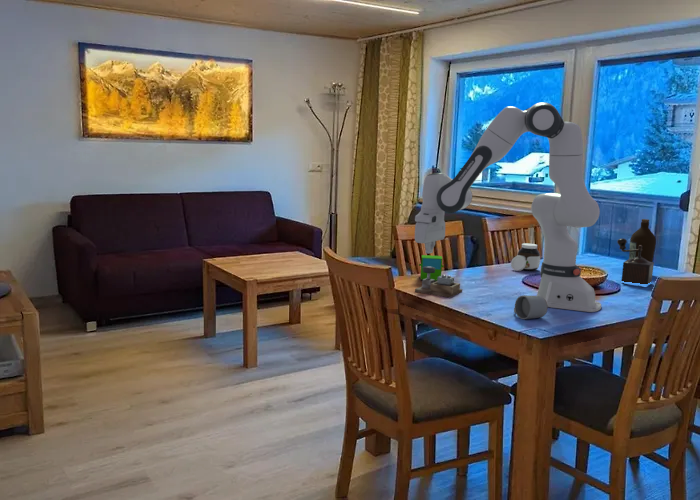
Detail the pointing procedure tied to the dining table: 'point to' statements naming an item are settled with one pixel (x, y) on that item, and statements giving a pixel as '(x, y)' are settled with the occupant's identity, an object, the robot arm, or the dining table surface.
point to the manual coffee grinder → (636, 266)
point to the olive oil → (643, 242)
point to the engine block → (445, 280)
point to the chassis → (438, 288)
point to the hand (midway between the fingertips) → (429, 253)
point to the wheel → (428, 271)
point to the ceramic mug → (530, 307)
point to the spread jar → (526, 258)
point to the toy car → (431, 262)
